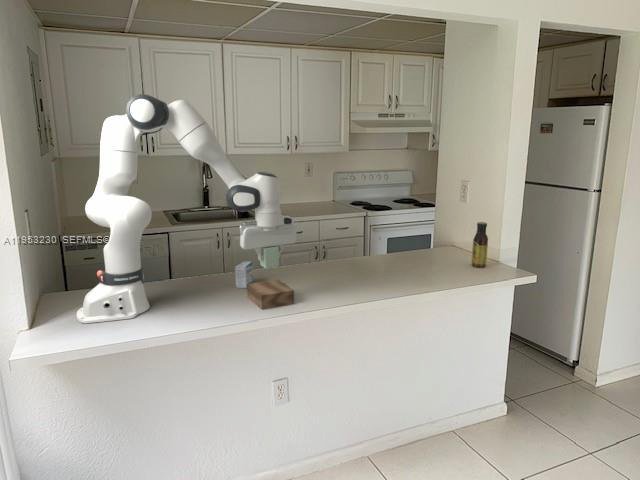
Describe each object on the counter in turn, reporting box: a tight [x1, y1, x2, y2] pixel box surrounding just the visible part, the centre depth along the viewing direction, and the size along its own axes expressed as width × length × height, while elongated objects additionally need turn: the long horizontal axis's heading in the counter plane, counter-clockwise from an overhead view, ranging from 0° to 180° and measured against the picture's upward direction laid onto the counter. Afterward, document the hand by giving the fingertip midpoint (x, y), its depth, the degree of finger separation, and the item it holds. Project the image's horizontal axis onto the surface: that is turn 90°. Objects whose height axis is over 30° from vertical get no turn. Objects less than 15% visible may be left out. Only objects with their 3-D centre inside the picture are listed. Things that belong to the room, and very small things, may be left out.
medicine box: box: [234, 260, 254, 289], centre depth 186 cm, size 8×4×9 cm, turn 168°
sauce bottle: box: [471, 221, 489, 268], centre depth 210 cm, size 6×6×20 cm
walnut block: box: [246, 278, 295, 310], centre depth 169 cm, size 12×14×5 cm
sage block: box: [259, 246, 280, 269], centre depth 166 cm, size 5×5×7 cm
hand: (269, 258), depth 167 cm, fingers closed on sage block, 5 cm apart
